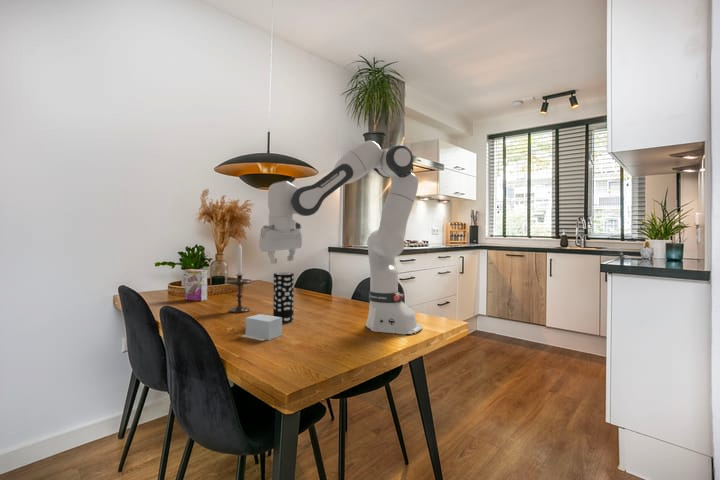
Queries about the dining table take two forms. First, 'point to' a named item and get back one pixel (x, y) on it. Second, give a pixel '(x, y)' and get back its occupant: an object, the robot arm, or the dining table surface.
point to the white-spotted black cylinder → (283, 296)
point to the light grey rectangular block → (264, 326)
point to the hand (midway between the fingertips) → (282, 262)
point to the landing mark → (253, 337)
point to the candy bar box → (195, 285)
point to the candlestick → (239, 284)
